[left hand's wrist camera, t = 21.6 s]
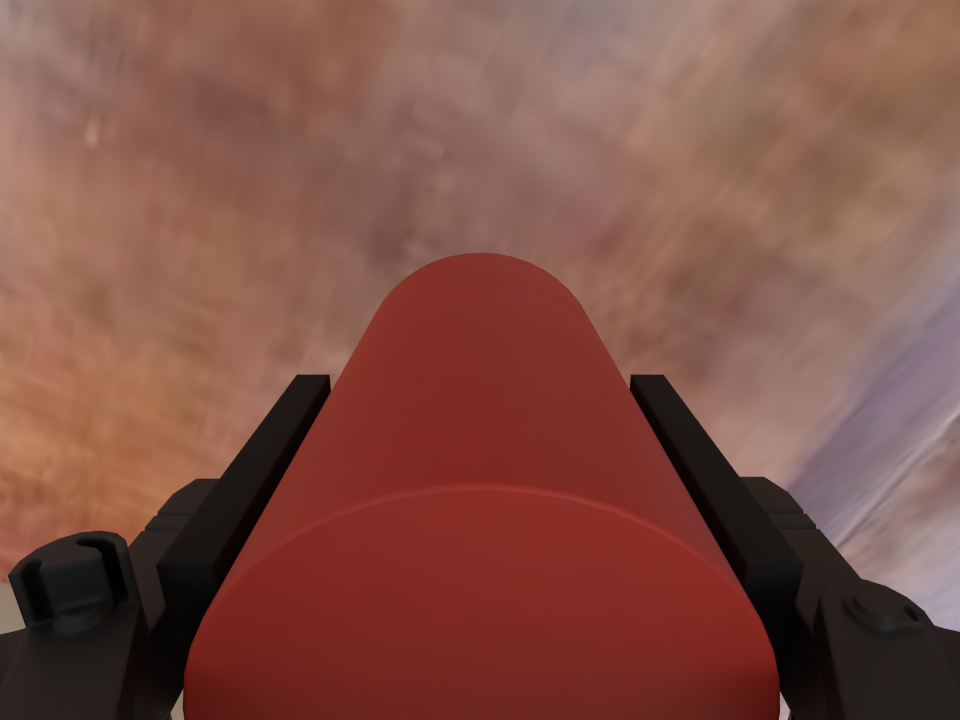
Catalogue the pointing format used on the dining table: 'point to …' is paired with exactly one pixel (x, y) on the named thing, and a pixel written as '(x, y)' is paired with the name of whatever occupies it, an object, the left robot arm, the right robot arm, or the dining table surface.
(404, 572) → the can
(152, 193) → the dining table surface
